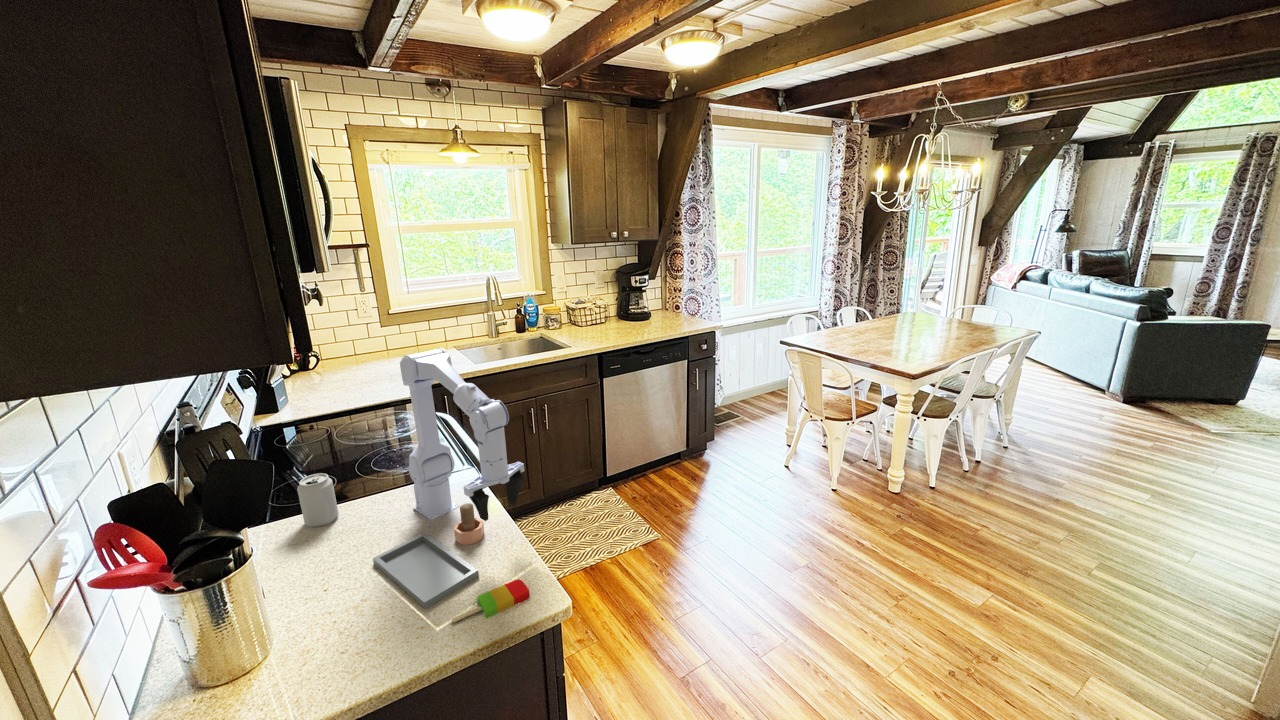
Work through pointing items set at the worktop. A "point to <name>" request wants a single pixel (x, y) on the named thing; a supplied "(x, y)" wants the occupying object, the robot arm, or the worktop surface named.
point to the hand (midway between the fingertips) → (498, 511)
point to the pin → (467, 517)
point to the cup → (469, 533)
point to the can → (317, 500)
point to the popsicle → (499, 599)
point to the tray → (425, 569)
